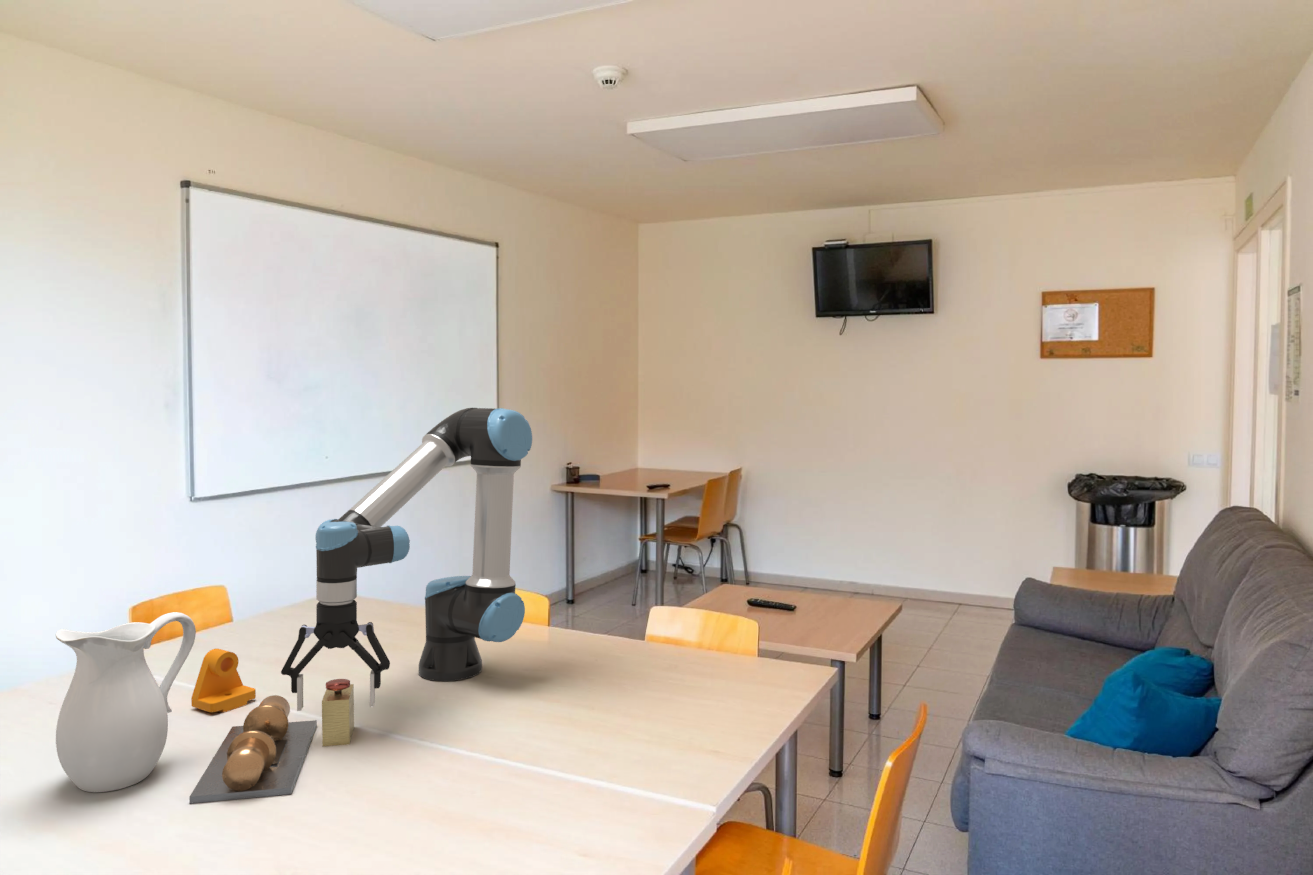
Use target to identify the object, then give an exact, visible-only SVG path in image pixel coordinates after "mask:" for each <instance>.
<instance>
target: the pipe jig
mask: <svg viewBox="0 0 1313 875" xmlns="http://www.w3.org/2000/svg"><path fill="white" fill-rule="evenodd" d="M290 712H291V707H290V703H289V700H287V699H286V698H285V697H283V696H281V695H276V694H275V695H273V694H272V695H269V696H266V697H265V698H264V699H263V700H262V701H261V702H260V703H259V706H256V707H255V708H253V709H252V710H251V711H249V712H248V714H247V715H246V717H245V719H244V720H243V721H244V722H243V725H237V726H235V725H234V726H231V728H230V730H229V731H228V733H227V735H226V736H225V738H224V739H223V741H222V743H221V744H220V746H219V747H218V749H217V751H216V753H215V754H214V755H213V757H212V759H211V761H210V762H209V764H208V765H207V767H206V769H205V770H204V771H203V773H202V775H201V777H200V778H199V780H198V781H197V783H196V785H195V787H194V788H193V790H192V792H191V793H190V794H189V798H188V799H189V804H200V803H201V804H202V803H211V802H223V801H233V800H242V799H243V800H244V799H253V798H256V799H257V798H265V797H267V798H268V797H276V796H277V797H278V796H287V795H292V794H293V791H294V789H295V786H296V783H297V780H298V778H299V775H300V772H301V770H302V767H303V764H304V761H305V759H306V756H307V754H308V751H309V748H310V745H311V742H312V740H313V737H314V734H315V732H316V729H317V726H318V724H317V722H318V721H317V720H316V719H315V720H314V719H313V720H305V721H303V720H301V721H290V722H289V718H288V717H289V715H290Z"/></svg>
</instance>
